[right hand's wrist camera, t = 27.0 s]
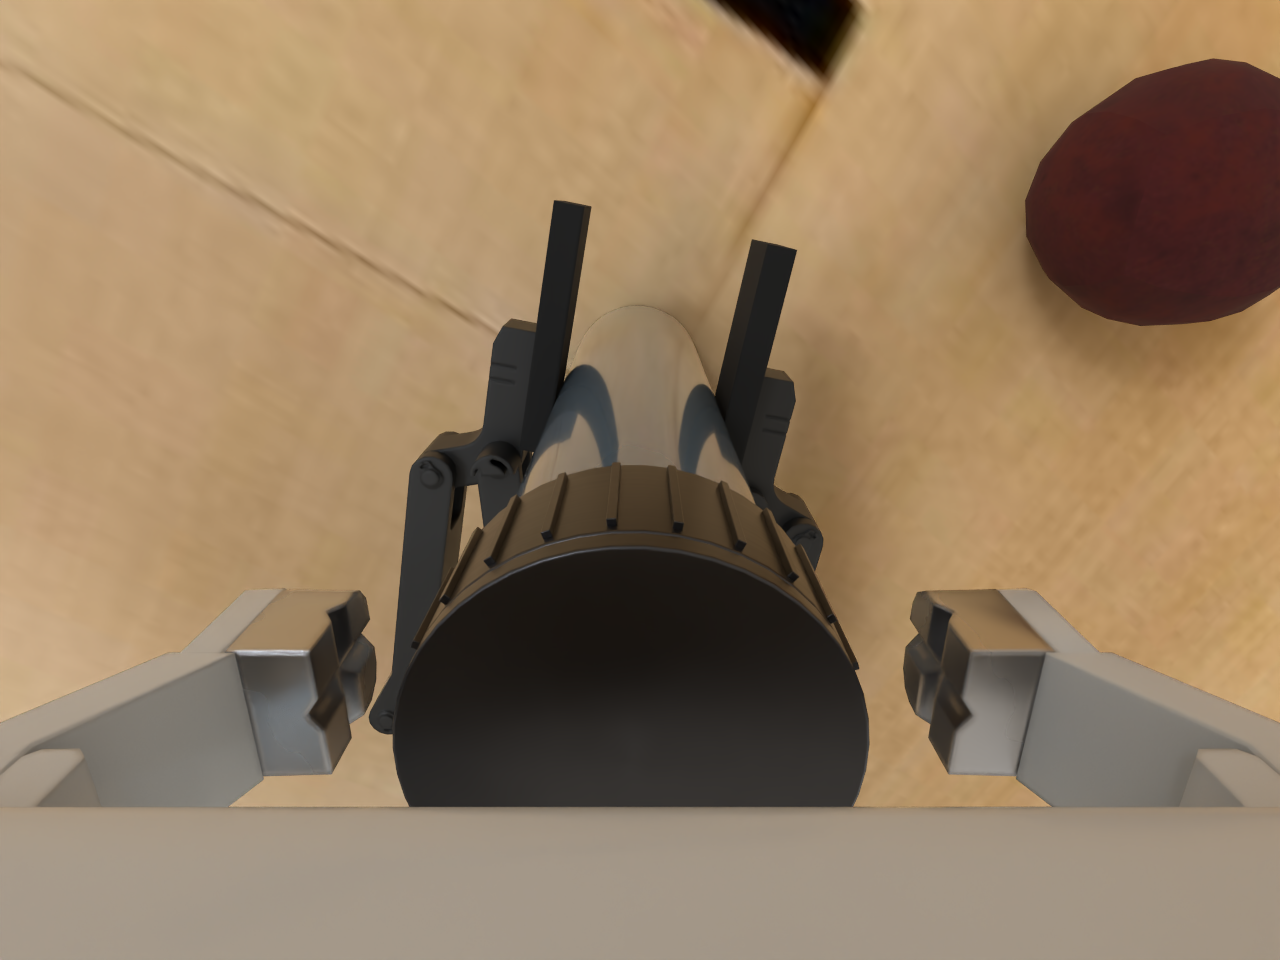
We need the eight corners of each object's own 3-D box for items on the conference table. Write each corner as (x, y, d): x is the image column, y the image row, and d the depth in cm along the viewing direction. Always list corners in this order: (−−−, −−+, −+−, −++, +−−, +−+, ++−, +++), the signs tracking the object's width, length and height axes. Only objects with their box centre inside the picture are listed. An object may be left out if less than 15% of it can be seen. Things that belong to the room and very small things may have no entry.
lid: (741, 821, 12) (766, 973, 9) (406, 736, 11) (345, 876, 9) (887, 527, 10) (962, 627, 7) (494, 405, 9) (446, 472, 7)
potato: (1182, 310, 26) (1363, 345, 20) (969, 307, 26) (1080, 342, 20) (1244, 82, 24) (1476, 35, 17) (1009, 79, 24) (1151, 30, 17)
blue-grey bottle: (704, 418, 28) (828, 829, 10) (586, 433, 28) (486, 864, 10) (691, 297, 26) (810, 513, 8) (566, 314, 27) (401, 564, 8)
